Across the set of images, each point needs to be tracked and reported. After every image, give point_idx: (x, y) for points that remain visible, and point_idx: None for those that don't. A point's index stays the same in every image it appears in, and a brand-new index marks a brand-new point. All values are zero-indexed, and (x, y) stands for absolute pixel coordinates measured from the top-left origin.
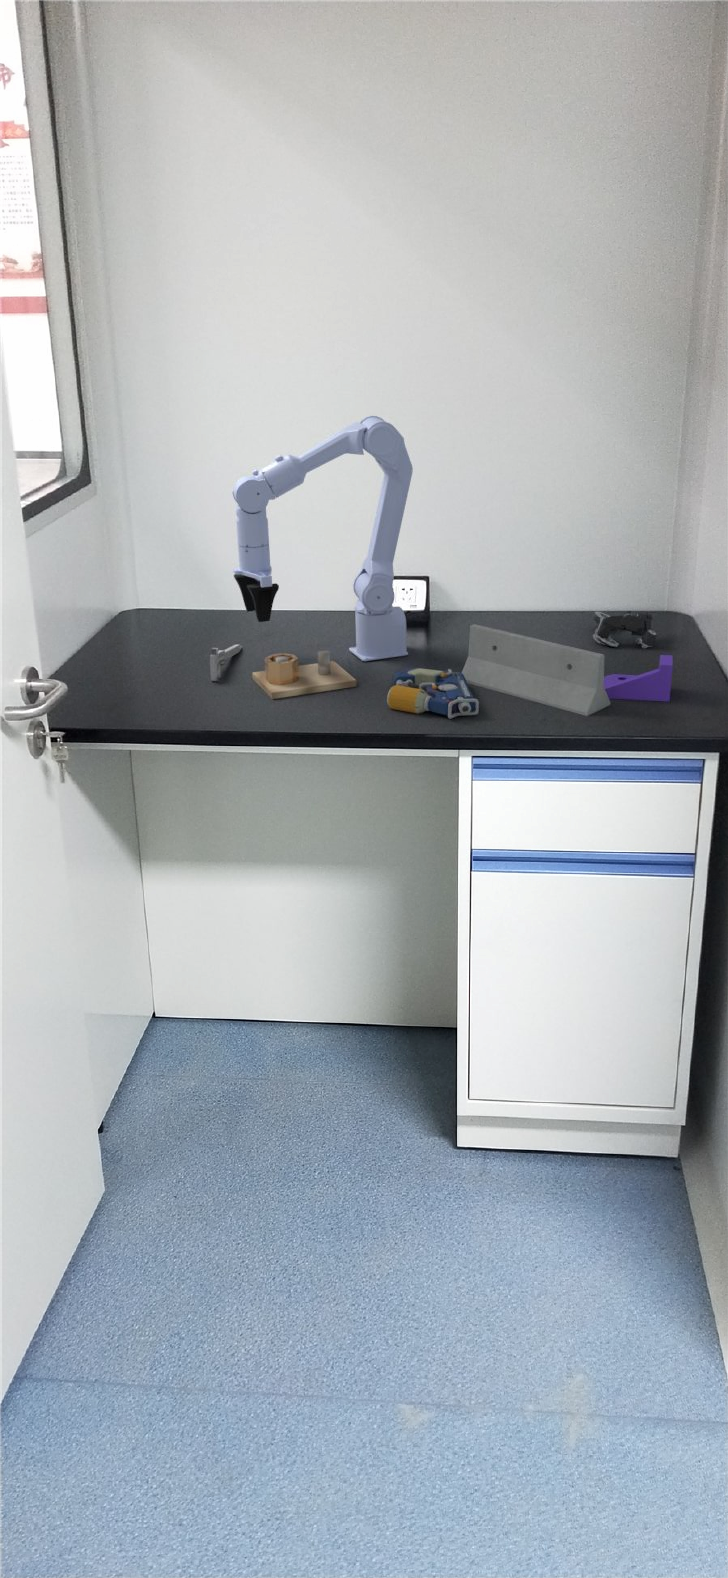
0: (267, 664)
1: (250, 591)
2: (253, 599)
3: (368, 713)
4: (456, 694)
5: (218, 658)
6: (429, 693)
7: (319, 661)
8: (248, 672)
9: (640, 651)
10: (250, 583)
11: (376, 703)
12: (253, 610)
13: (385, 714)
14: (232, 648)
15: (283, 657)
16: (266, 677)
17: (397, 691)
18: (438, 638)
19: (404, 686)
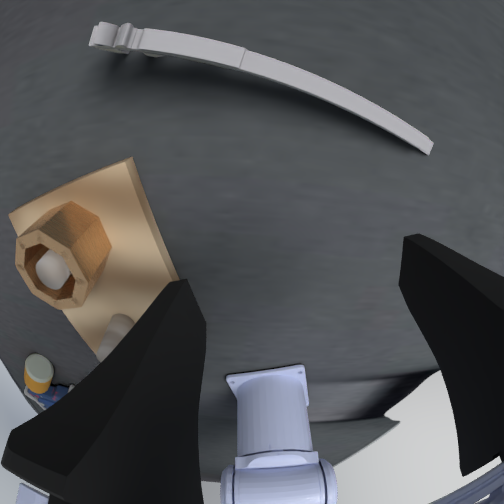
0: (25, 232)
1: (35, 437)
2: (104, 385)
3: (14, 329)
4: (47, 405)
5: (138, 50)
6: (53, 394)
7: (103, 337)
8: (192, 143)
9: (220, 475)
10: (485, 388)
11: (44, 346)
12: (401, 267)
13: (19, 343)
14: (348, 109)
15: (55, 280)
16: (60, 207)
17: (26, 375)
18: (310, 427)
19: (38, 386)
